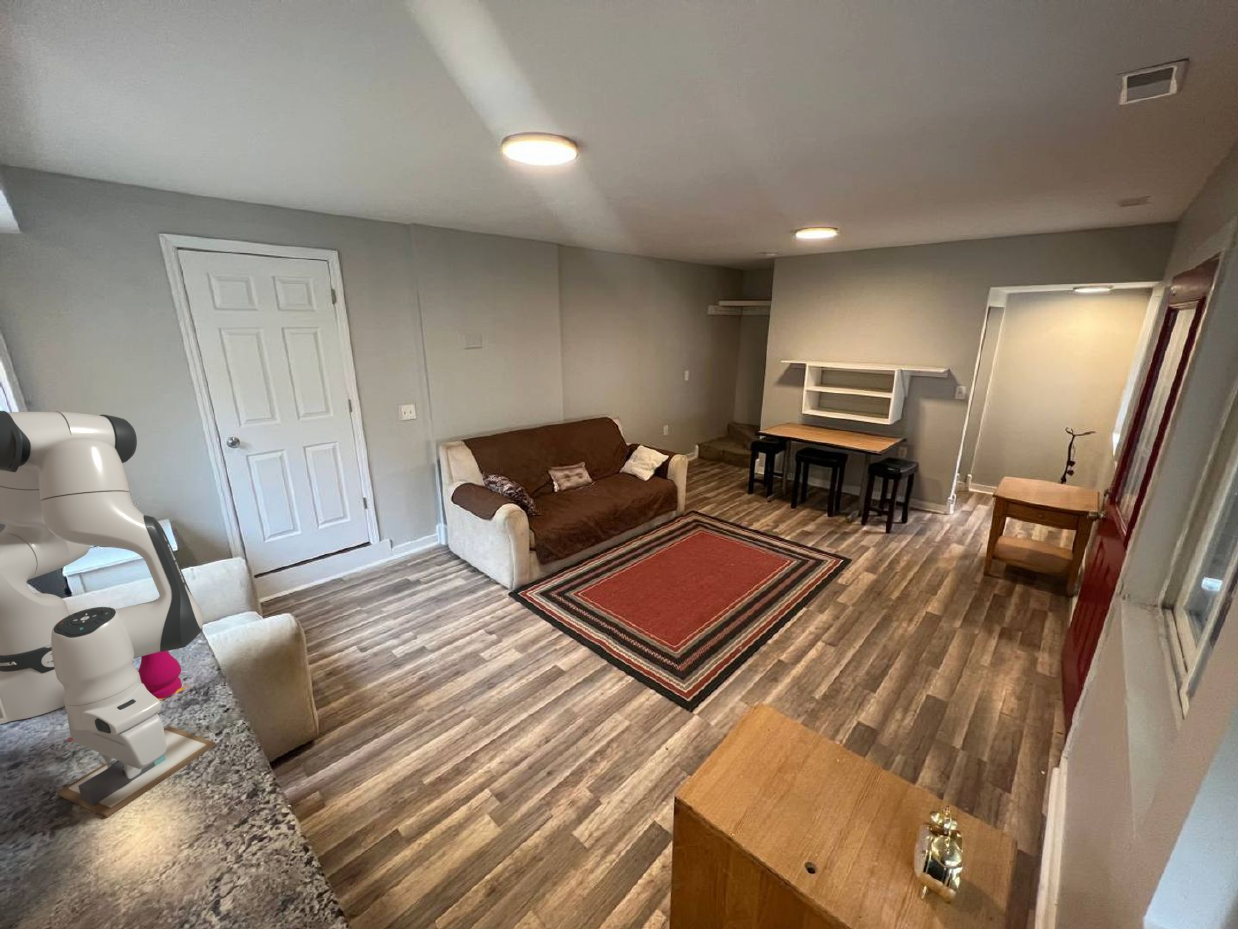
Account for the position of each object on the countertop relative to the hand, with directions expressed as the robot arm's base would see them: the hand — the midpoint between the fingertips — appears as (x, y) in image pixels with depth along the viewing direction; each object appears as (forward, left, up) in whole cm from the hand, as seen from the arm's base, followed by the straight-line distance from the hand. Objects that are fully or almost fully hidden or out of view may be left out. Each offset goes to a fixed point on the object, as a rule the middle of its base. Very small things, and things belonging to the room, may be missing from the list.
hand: (125, 771), depth 84 cm
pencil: (-22, +12, -3) cm, 25 cm away
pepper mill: (-23, +18, -3) cm, 29 cm away
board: (-1, +3, -2) cm, 4 cm away
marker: (0, 0, -1) cm, 1 cm away
